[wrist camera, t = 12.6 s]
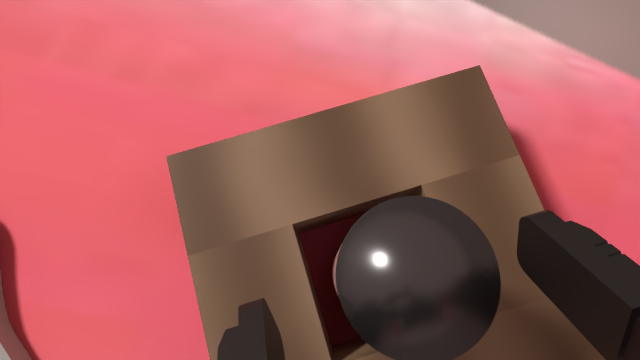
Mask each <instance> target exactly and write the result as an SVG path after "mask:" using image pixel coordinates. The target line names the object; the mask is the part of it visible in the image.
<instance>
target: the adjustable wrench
mask: <svg viewBox="0 0 640 360" xmlns="http://www.w3.org/2000/svg"><path fill="white" fill-rule="evenodd" d="M0 360H32V359H31V357H30V356H29V354H28V352H27V351H26V349H25V348H24V346H23V345H22V343H21V342H20V340H19V339H18V337H17V335H16V334H15V332H14V330H13V328H12V326H11V324H10V322H9V318H8V315H7V311H6V308H5V301H4V295H3V288H2V281H1V270H0Z"/></svg>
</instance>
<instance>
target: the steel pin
mask: <svg viewBox="0 0 640 360" xmlns="http://www.w3.org/2000/svg"><path fill="white" fill-rule="evenodd" d="M332 279H333V284H334V287H335V289H336V292H337V295H338V297H339V300H340V303H341V305H342V308H343V311H344V313H345V315H346V317H347V319H348V321H349V322H350V324H351V325H352V327H353V328H354V330H355V331H356V332H357V333H358V334H359V335H360V337H361V338H362V339H363V340H364V341H365V342H366V343H368V344H369V345H370V346H371V347H372V348H374V349H375V350H377V351H378V352H380V353H381V354H383V355H385V356H387V357H390V358H392V359H394V360H452V359H454V358H456V357H459V356H460V355H462V354H464V353H465V352H467V351H468V350H470V349H471V348H472V347H473V346H475V345H476V344H477V343H478V342H479V341H480V339H481V338H482V337H483V336H484V335H485V333H486V332H487V330H488V329H489V327H490V326H491V324H492V322H493V320H494V318H495V315H496V312H497V309H498V305H499V300H500V292H501V279H500V271H499V266H498V261H497V259H496V256H495V253H494V250H493V248H492V246H491V244H490V242H489V240H488V239H487V237H486V236H485V234H484V233H483V231H482V230H481V229H480V228H479V226H478V225H477V224H476V223H475V222H474V221H473V220H472V219H471V218H470V217H469V216H467V215H466V214H465V213H463V212H462V211H461V210H459V209H457V208H456V207H454V206H452V205H450V204H448V203H446V202H443V201H441V200H437V199H434V198H429V197H423V196H405V197H398V198H394V199H390V200H387V201H385V202H382V203H380V204H378V205H376V206H374V207H373V208H371V209H370V210H368V211H367V212H366V213H364V214H363V215H362V216H361V217H360V218H359V219H358V220H357V221H356V222H355V223H354V225H353V226H352V227H351V228H350V230H349V232H348V233H347V235H346V237H345V239H344V241H343V243H342V244H341V246H340V248H339V250H338V252H337V254H336V257H335V259H334V262H333V267H332Z"/></svg>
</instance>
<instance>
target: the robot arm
mask: <svg viewBox="0 0 640 360" xmlns="http://www.w3.org/2000/svg"><path fill="white" fill-rule="evenodd" d="M517 259H518V262H519V264H520V266H521V268H522V269H523V271H524V272H525V273H526V275H527V276H528V277H529V278H530V279H531V280H532V281H533V282H534V283H535V284H536V285H537V286H538V287H539V288H540V290H541V291H542V292H543V293H544V294H545V295H546V296H547V297H548V298H549V299H550V300H551V301H552V302H553V304H554V305H555V306H556V307H557V308H558V309H559V310H560V311H561V312H562V313H563V314H564V315H565V316H566V318H567V319H568V320H569V321H570V322H571V323H572V324H573V325H574V326H575V327H576V328H577V329H578V330H579V331H580V333H581V334H582V335H583V336H584V337H585V338H586V339H587V340H588V341H589V342H590V343H591V344H592V345H593V347H594V348H595V349H596V350H597V351H598V352H599V353H600V354H601V355H602V356H603V357H604V358H605V359H606V360H640V266H639V265H638V264H637V263H635V262H634V261H633V260H631V259H630V258H629V257H627V256H626V255H625V254H621V251H619V250H618V249H617V248H615V247H614V246H613V245H611V244H608V243H607V241H606V240H605V239H604V238H602V237H601V236H600V235H598V234H597V233H596V232H594V231H593V230H592V229H590V228H587V227H585V226H582V225H580V224H578V223H575V222H573V221H568V222H564V221H563V220H562V219H561V218H559V217H558V216H557V215H555V214H554V213H553V212H551V211H549V210H543V211H540V212H537V213H533V214H530V215H527V216H524V217H521V218H520V220H519V228H518V241H517ZM217 360H285V353H284V347H283V342H282V338H281V334H280V331H279V329H278V326H277V324H276V322H275V320H274V318H273V315H272V313H271V311H270V309H269V306H268V304H267V302H266V300H265V299H264V298H261V299H258V300H255V301H252V302H248V303H245V304H242V305H239V308H238V326H235V327H232V328H229V329H226V330H225V332H224V334H223V337H222V339H221V341H220V344H219V346H218V354H217Z"/></svg>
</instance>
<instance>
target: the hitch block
mask: <svg viewBox="0 0 640 360" xmlns="http://www.w3.org/2000/svg"><path fill="white" fill-rule="evenodd" d="M166 157H167V162H168V166H169V171H170V176H171V180H172V185H173V189H174V194H175V199H176V203H177V208H178V213H179V217H180V222H181V227H182V231H183V236H184V240H185V245H186V250H187V254H188V259H189V264H190V268H191V273H192V278H193V282H194V287H195V291H196V296H197V301H198V305H199V310H200V315H201V319H202V324H203V328H204V333H205V338H206V342H207V347H208V352H209V356H210V360H217V354H218V346H219V344H220V341H221V339H222V337H223V334H224V332H225V330H226V329H229V328H232V327H235V326H238V308H239V305H242V304H245V303H248V302H252V301H255V300H258V299H261V298H264V299H265V300H266V302H267V304H268V306H269V309H270V311H271V313H272V315H273V318H274V320H275V322H276V324H277V326H278V329H279V331H280V334H281V338H282V342H283V347H284V353H285V360H394V359H392V358H390V357H387V356H385V355H383V354H381V353H380V352H378V351H377V350H375V349H374V348H372V347H371V346H370V345H369V344H368V343H366V342H365V341H364V340H363V339H362V338H359V339H355V340H352V341H349V342H346V343H343V344H340V345H337V346H334V347H332V345H331V342H330V339H329V335H328V332H327V328H326V325H325V321H324V318H323V314H322V311H321V307H320V304H319V300H318V297H317V293H316V290H315V286H314V283H313V279H312V276H311V273H310V269H309V266H308V262H307V259H306V255H305V252H304V248H303V245H302V241H301V238H300V234H299V233H300V232H303V231H307V230H310V229H313V228H317V227H320V226H323V225H326V224H330V223H333V222H336V221H339V220H343V219H346V218H349V217H353V216H356V215H359V214H362V213H366V212H367V211H368V210H370V209H371V208H373V207H374V206H376V205H378V204H380V203H382V202H385V201H387V200H390V199H394V198H398V197H405V196H423V197H429V198H434V199H437V200H441V201H443V202H446V203H448V204H450V205H452V206H454V207H456V208H457V209H459V210H461V211H462V212H463V213H465V214H466V215H467V216H469V217H470V218H471V219H472V220H473V221H474V222H475V223H476V224H477V225H478V226H479V228H480V229H481V230H482V231H483V233H484V234H485V236H486V237H487V239H488V240H489V242H490V244H491V246H492V248H493V250H494V253H495V256H496V259H497V261H498V266H499V271H500V279H501V292H500V300H499V305H498V309H497V312H496V315H495V318H494V320H493V322H492V324H491V326H490V327H489V329H488V330H487V332H486V333H485V335H484V336H483V337H482V338H481V339H480V341H479V342H478V343H477V344H476V345H475V346H473V347H472V348H471V349H470V350H468V351H467V352H465V353H464V354H462V355H460V356H459V357H456V358H454V359H452V360H606V359H605V358H604V357H603V356H602V355H601V354H600V353H599V352H598V351H597V350H596V349H595V348H594V347H593V345H592V344H591V343H590V342H589V341H588V340H587V339H586V338H585V337H584V336H583V335H582V334H581V333H580V331H579V330H578V329H577V328H576V327H575V326H574V325H573V324H572V323H571V322H570V321H569V320H568V319H567V318H566V316H565V315H564V314H563V313H562V312H561V311H560V310H559V309H558V308H557V307H556V306H555V305H554V304H553V302H552V301H551V300H550V299H549V298H548V297H547V296H546V295H545V294H544V293H543V292H542V291H541V290H540V288H539V287H538V286H537V285H536V284H535V283H534V282H533V281H532V280H531V279H530V278H529V277H528V276H527V275H526V273H525V272H524V271H523V269H522V268H521V266H520V264H519V262H518V259H517V241H518V228H519V220H520V218H521V217H524V216H527V215H530V214H533V213H537V212H540V211H543V210H544V208H543V206H542V204H541V201H540V199H539V197H538V195H537V192H536V190H535V188H534V186H533V183H532V181H531V179H530V177H529V174H528V172H527V170H526V168H525V165H524V163H523V161H522V159H521V157H520V154H519V152H518V150H517V148H516V145H515V143H514V141H513V139H512V136H511V134H510V132H509V130H508V127H507V125H506V123H505V121H504V118H503V116H502V114H501V112H500V110H499V107H498V105H497V103H496V101H495V98H494V96H493V94H492V92H491V89H490V87H489V85H488V83H487V80H486V78H485V76H484V74H483V71H482V69H481V67H480V65H479V66H475V67H472V68H469V69H465V70H462V71H458V72H455V73H451V74H448V75H445V76H441V77H438V78H434V79H431V80H427V81H424V82H420V83H417V84H414V85H410V86H407V87H403V88H400V89H396V90H393V91H390V92H386V93H383V94H379V95H376V96H372V97H369V98H365V99H362V100H359V101H355V102H352V103H348V104H345V105H341V106H338V107H335V108H331V109H328V110H324V111H321V112H317V113H314V114H310V115H307V116H304V117H300V118H297V119H293V120H290V121H286V122H283V123H280V124H276V125H273V126H269V127H266V128H262V129H259V130H255V131H252V132H249V133H245V134H242V135H238V136H235V137H231V138H228V139H225V140H221V141H218V142H214V143H211V144H207V145H204V146H200V147H197V148H194V149H190V150H187V151H183V152H180V153H176V154H173V155H170V156H166Z"/></svg>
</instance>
